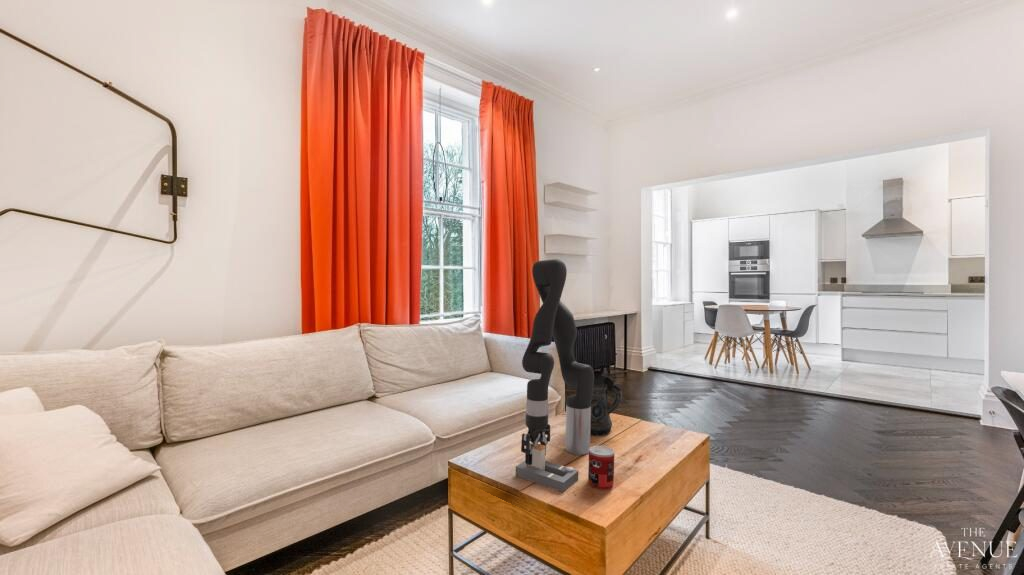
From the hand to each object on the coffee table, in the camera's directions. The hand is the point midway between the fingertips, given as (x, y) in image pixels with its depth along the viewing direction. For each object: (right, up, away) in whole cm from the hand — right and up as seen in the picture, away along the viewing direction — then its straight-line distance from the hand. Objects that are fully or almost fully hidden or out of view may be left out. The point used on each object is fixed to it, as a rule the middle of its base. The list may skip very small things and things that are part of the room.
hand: (535, 459), depth 144 cm
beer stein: (+28, -4, +43) cm, 51 cm away
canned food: (+21, -6, -6) cm, 22 cm away
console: (+3, -5, -2) cm, 6 cm away
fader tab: (0, -5, 0) cm, 5 cm away
